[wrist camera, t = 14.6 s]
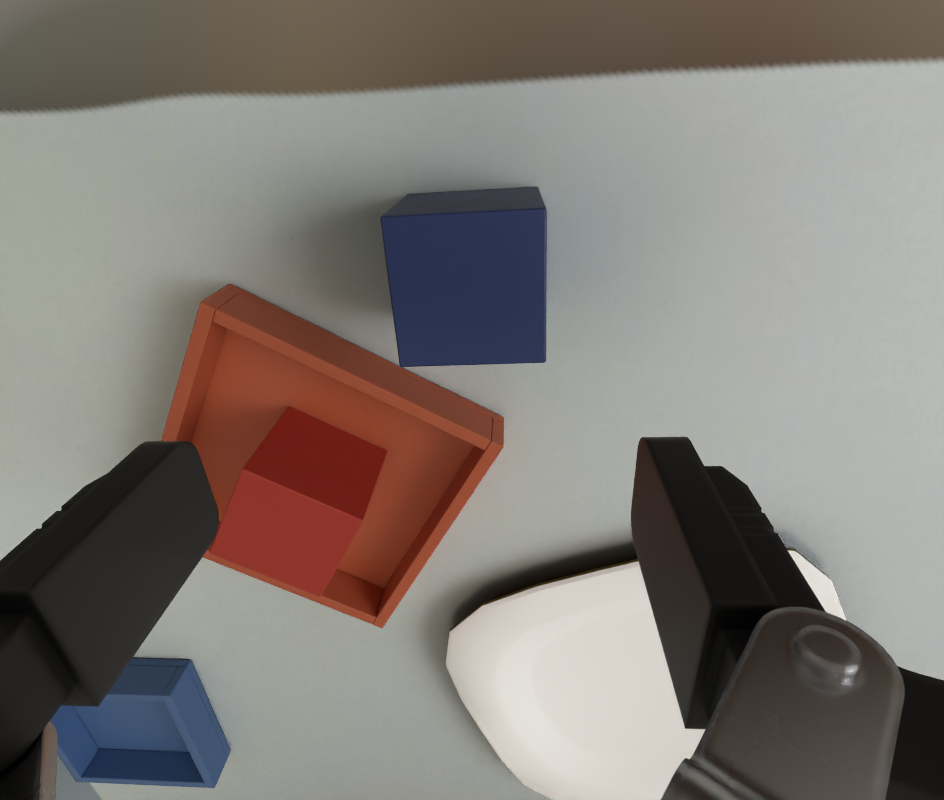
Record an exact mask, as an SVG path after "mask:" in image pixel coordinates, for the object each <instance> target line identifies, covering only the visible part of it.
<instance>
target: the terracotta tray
mask: <svg viewBox="0 0 944 800" xmlns="http://www.w3.org/2000/svg"><path fill="white" fill-rule="evenodd" d="M288 406H290V407H293V408H295V409H297V410H299V411H301V412H304V413H306V414H308V415H310V416H312V417H314V418H317V419H319V420H321V421H323V422H325V423H328V424H330V425H332V426H334V427H336V428H339V429H341V430H343V431H345V432H347V433H350V434H352V435H354V436H356V437H358V438H361V439H363V440H365V441H367V442H369V443H371V444H374V445H376V446H378V447H380V448H382V449H385V450H387V455H386V458H385V460H384V463H383V466H382V469H381V472H380V475H379V477H378V480H377V483H376V486H375V489H374V492H373V494H372V497H371V500H370V503H369V506H368V508H367V511H366V514H365V517H364V520H363V522H362V524H361V526H360V527H359V529H358V531H357V533H356V535H355V536H354V538H353V540H352V542H351V544H350V545H349V547H348V549H347V551H346V553H345V554H344V556H343V558H342V560H341V562H340V563H339V565H338V567H337V569H336V571H335V572H334V574H333V576H332V578H331V580H330V581H329V583H328V585H327V587H326V589H325V590H324V592H323V594H322V596H321V597H318V596H316V595H313V594H311V593H308V592H306V591H303V590H301V589H298V588H296V587H293V586H291V585H288V584H286V583H283V582H281V581H278V580H276V579H273V578H271V577H268V576H265V575H263V574H260V573H258V572H255V571H253V570H250V569H248V568H245V567H243V566H240V565H238V564H235V563H233V562H230V561H228V560H225V559H223V558H220V557H218V556H215V555H213V554H210V551H211V548H212V545H213V543H214V540H215V538H216V536H215V538H214V540H213V542H212V544H211V545H210V547H209V548H208V549H207V551H206V552H205V554H204V555H203V557H204V558H206V559H209V560H211V561H214V562H216V563H219V564H221V565H224V566H226V567H229V568H231V569H234V570H236V571H239V572H241V573H244V574H247V575H249V576H252V577H254V578H257V579H259V580H262V581H264V582H267V583H269V584H272V585H274V586H277V587H279V588H282V589H284V590H287V591H290V592H292V593H295V594H297V595H300V596H302V597H305V598H307V599H310V600H312V601H315V602H317V603H320V604H322V605H325V606H328V607H330V608H333V609H335V610H338V611H340V612H343V613H345V614H348V615H350V616H353V617H355V618H358V619H360V620H363V621H365V622H368V623H371V624H372V623H373V625H375V626H378V627H380V628H383V626H384V625H385V623H386V622H387V620H388V619H389V617H390V616H391V614H392V613H393V611H394V610H395V608H396V607H397V605H398V604H399V602H400V601H401V599H402V598H403V596H404V595H405V594H406V592H407V591H408V589H409V588H410V586H411V585H412V583H413V582H414V580H415V579H416V577H417V576H418V574H419V573H420V571H421V570H422V568H423V567H424V565H425V564H426V562H427V561H428V559H429V558H430V556H431V555H432V553H433V552H434V550H435V549H436V547H437V546H438V544H439V543H440V541H441V540H442V538H443V537H444V535H445V534H446V532H447V531H448V529H449V528H450V526H451V525H452V523H453V522H454V520H455V519H456V517H457V516H458V514H459V513H460V511H461V510H462V508H463V507H464V505H465V504H466V502H467V501H468V499H469V498H470V496H471V495H472V493H473V492H474V490H475V489H476V487H477V486H478V484H479V483H480V481H481V480H482V478H483V477H484V475H485V474H486V472H487V471H488V469H489V468H490V466H491V465H492V463H493V462H494V460H495V459H496V457H497V456H498V454H499V453H500V451H501V450H502V448H503V444H504V418H503V417H502V416H500V415H498V414H496V413H494V412H492V411H489V410H487V409H485V408H483V407H481V406H479V405H477V404H475V403H473V402H471V401H469V400H467V399H465V398H463V397H461V396H459V395H457V394H455V393H453V392H451V391H449V390H447V389H444V388H442V387H440V386H438V385H436V384H434V383H432V382H430V381H428V380H426V379H424V378H422V377H420V376H418V375H416V374H414V373H412V372H410V371H408V370H406V369H404V368H401V367H399V366H397V365H395V364H393V363H391V362H389V361H387V360H385V359H383V358H381V357H379V356H377V355H375V354H373V353H371V352H369V351H367V350H365V349H363V348H361V347H359V346H356V345H354V344H352V343H350V342H348V341H346V340H344V339H342V338H340V337H338V336H336V335H334V334H332V333H330V332H328V331H326V330H324V329H322V328H320V327H318V326H316V325H314V324H311V323H309V322H307V321H305V320H303V319H301V318H299V317H297V316H295V315H293V314H291V313H289V312H287V311H285V310H283V309H281V308H279V307H277V306H275V305H273V304H271V303H268V302H266V301H264V300H262V299H260V298H258V297H256V296H254V295H252V294H250V293H248V292H246V291H244V290H242V289H240V288H238V287H236V286H234V285H232V284H229V285H227V286H225V287H224V288H222V289H220V290H219V291H217V292H216V293H214V294H212V295H211V296H209V297H208V298H206V299H204V300H203V301H201V302H200V306H199V309H198V313H197V316H196V320H195V323H194V327H193V330H192V334H191V337H190V341H189V344H188V348H187V352H186V355H185V359H184V362H183V366H182V369H181V373H180V376H179V380H178V383H177V387H176V390H175V394H174V397H173V401H172V404H171V408H170V412H169V415H168V419H167V422H166V426H165V429H164V433H163V436H162V440H161V441H188V442H191V443H192V444H193V445H194V446H195V447H196V448H197V450H198V452H199V455H200V458H201V461H202V464H203V466H204V469H205V472H206V475H207V478H208V481H209V484H210V487H211V490H212V492H213V495H214V498H215V501H216V504H217V507H218V512H219V524H218V530H219V527H220V525H221V522H222V519H223V517H224V514H225V512H226V509H227V506H228V504H229V501H230V498H231V496H232V493H233V491H234V488H235V485H236V483H237V480H238V478H239V475H240V472H241V470H242V468H243V467H244V465H245V464H246V463H247V461H248V460H249V459H250V457H251V456H252V455H253V453H254V452H255V451H256V449H257V448H258V446H259V445H260V444H261V442H262V441H263V440H264V438H265V437H266V436H267V434H268V433H269V432H270V430H271V429H272V428H273V426H274V425H275V424H276V422H277V421H278V420H279V418H280V417H281V415H282V414H283V413H284V411H285V410H286V409H287V407H288ZM218 530H217V532H218ZM216 535H217V533H216Z"/></svg>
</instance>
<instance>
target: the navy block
mask: <svg viewBox="0 0 944 800" xmlns="http://www.w3.org/2000/svg"><path fill="white" fill-rule="evenodd" d="M380 221H381V228H382V236H383V243H384V251H385V258H386V266H387V273H388V281H389V288H390V295H391V303H392V310H393V318H394V325H395V333H396V340H397V348H398V355H399V363H400V366H401V367H413V366H447V365H480V364H514V363H544V362H545V361H546V251H547V210H546V207H545V204H544V202H543V199H542V196H541V194H540V191H539V188H538V187H524V188H506V189H488V190H470V191H452V192H434V193H417V194H408V195H406V196H405V197H404V198H403V199H402V200H400V201H399V202H398V203H397V204H396V205H394V206H393V207H392V208H391V209H390V210H388V211H387V212H386V213H385V214H384V215H383V216H381V218H380Z"/></svg>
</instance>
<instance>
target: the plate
mask: <svg viewBox="0 0 944 800" xmlns="http://www.w3.org/2000/svg"><path fill="white" fill-rule="evenodd" d="M786 549H787V550H788V552H789V553H790V555H791V557H792V558H793V560H794V561H795V563H796V565H797V566H798V568H799V569H800V571H801V573H802V574H803V576H804V578H805V579H806V581H807V582H808V584H809V586H810V587H811V589H812V590H813V592H814V594H815V595H816V597H817V598H818V600H819V602H820V603H821V605H822V606H823V608H824V610H825V611H826V612H827V613H830V614H832V615H835V616H837V617H840V618H842V619H844V620H846V618H845V615H844V613H843V610H842V607H841V605H840V602H839V599H838V597H837V594H836V591H835V589H834V586H833V583H832V581H831V579H830V578H829V577H828V576H827V575H825V574H824V573H823V572H822V571H821V570H819V569H818V568H817V567H816V566H814V565H813V564H812V563H811V562H810V561H808V560H807V559H806V558H805V557H803V556H802V555H801V554H800V553H799V552H797V551H796V550H795V549H792V548H786ZM446 667H447V669H448V671H449V673H450V676H451V678H452V680H453V682H454V685H455V687H456V689H457V692H458V694H459V696H460V698H461V700H462V702H463V703H464V705H465V706H466V708H467V710H468V711H469V713H470V714H471V716H472V717H473V719H474V721H475V722H476V724H477V725H478V727H479V729H480V730H481V732H482V733H483V735H484V736H485V737H486V739H487V740H488V742H489V743H490V745H491V746H492V748H493V749H494V751H495V752H496V754H497V755H498V756H499V758H500V759H501V761H502V762H503V763H504V764H505V765H506V766H507V767H508V768H509V769H510V771H511V772H512V773H513V774H514V775H515V776H516V777H517V778H518V779H519V780H520V781H521V783H522V784H523V785H525V786H526V787H528V788H530V789H532V790H534V791H536V792H538V793H540V794H542V795H544V796H546V797H548V798H550V799H551V800H661V798H662V796H663V794H664V792H665V790H666V788H667V787H668V785H669V783H670V781H671V779H672V777H673V775H674V773H675V772H676V770H677V768H678V767H679V765H680V764H681V762H682V761H683V760H684V759H685V758H688V759H690V758H691V757H692V755H693V753H694V752H695V750H696V748H697V746H698V744H699V742H700V740H701V738H702V736H703V733H704V731H705V729H685V726H684V723H683V719H682V716H681V712H680V708H679V705H678V701H677V698H676V694H675V691H674V687H673V683H672V680H671V676H670V673H669V669H668V665H667V662H666V658H665V655H664V651H663V647H662V644H661V640H660V637H659V633H658V629H657V626H656V622H655V619H654V615H653V611H652V608H651V604H650V601H649V597H648V594H647V590H646V586H645V583H644V579H643V576H642V572H641V568H640V565H639V561H638V559H635V560H631V561H627V562H622V563H618V564H614V565H609V566H605V567H601V568H597V569H593V570H589V571H585V572H581V573H577V574H574V575H570V576H566V577H562V578H558V579H554V580H550V581H547V582H543V583H539V584H535V585H533V586H530V587H527V588H524V589H521V590H518V591H516V592H513V593H510V594H507V595H504V596H501V597H499V598H496V599H493V600H490V601H487V602H485V603H482V604H481V605H480V606H478V607H477V608H476V609H475V610H473V611H472V612H471V613H470V614H468V615H467V616H466V617H465V618H463V619H462V620H461V621H460V622H458V623H457V624H456V625H455V626H454V627H452V628H451V629H450V633H449V641H448V649H447V657H446Z"/></svg>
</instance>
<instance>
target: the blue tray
mask: <svg viewBox="0 0 944 800" xmlns="http://www.w3.org/2000/svg"><path fill="white" fill-rule="evenodd" d="M51 722H52V723H53V725H54V726H55V728H56V730H57V736H58V742H57V755H58V757H59V758H60V759H61V761H62V762H63V764H64V765H65V767H66V768H67V769H68V771H69V772H70V774H71V775H72V777H73V778H74V780H75V781H76V782H93V783H115V784H137V785H160V786H182V787H204V788H206V787H207V788H215V786H216V784H217V781H218V779H219V777H220V774H221V772H222V770H223V767H224V765H225V763H226V761H227V758H228V756H229V754H230V748H229V746H228V744H227V741H226V739H225V737H224V734H223V732H222V730H221V727H220V725H219V723H218V721H217V718H216V716H215V714H214V711H213V709H212V707H211V704H210V702H209V700H208V698H207V695H206V693H205V691H204V688H203V686H202V684H201V681H200V679H199V677H198V675H197V672H196V670H195V668H194V665H193V663H192V661H191V660H180V659H143V658H132V659H131V660H130V662H129V663H128V665H127V666H126V667H125V669H124V670H123V672H122V673H121V675H120V676H119V678H118V679H117V680H116V682H115V683H114V685H113V686H112V688H111V689H110V691H109V692H108V693H107V695H106V696H105V698H104V699H103V701H102V702H101V703H100V705H99V706H98V707H94V706H63V705H61V706H60V708H59V709H58V710H57V712H56V713H55V714H54V716H53V717H52V718H51Z"/></svg>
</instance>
